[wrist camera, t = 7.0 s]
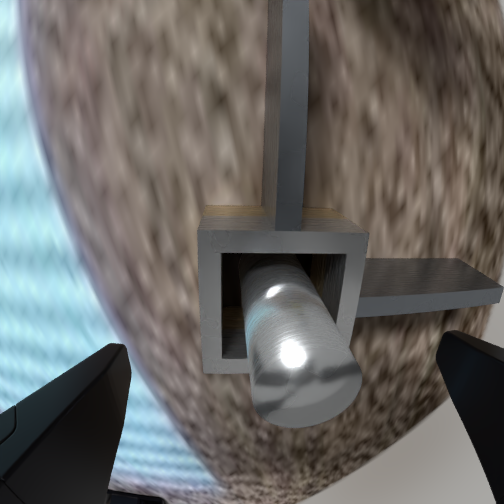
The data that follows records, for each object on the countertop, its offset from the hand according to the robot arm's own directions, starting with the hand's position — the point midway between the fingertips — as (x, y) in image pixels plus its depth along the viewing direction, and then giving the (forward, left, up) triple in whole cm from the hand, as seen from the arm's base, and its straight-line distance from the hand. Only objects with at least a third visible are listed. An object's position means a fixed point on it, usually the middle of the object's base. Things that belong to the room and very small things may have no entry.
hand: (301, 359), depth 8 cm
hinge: (+5, -4, -7) cm, 9 cm away
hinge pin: (0, 0, -7) cm, 7 cm away
